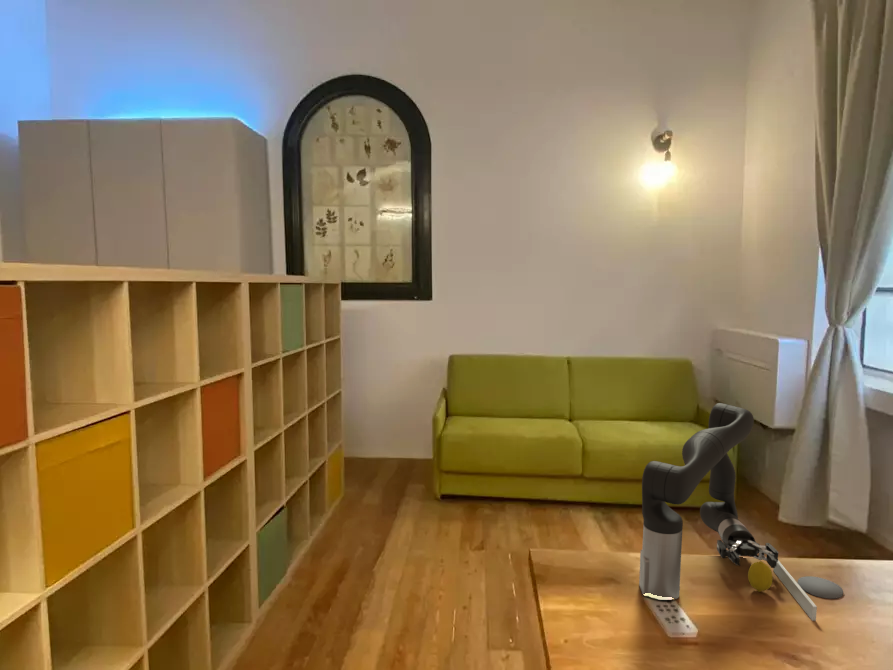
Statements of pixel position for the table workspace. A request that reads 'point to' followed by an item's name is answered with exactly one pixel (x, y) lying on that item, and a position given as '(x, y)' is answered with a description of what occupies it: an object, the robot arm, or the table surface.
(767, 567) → the lemon
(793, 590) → the low wall
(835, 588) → the slate mat
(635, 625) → the table surface
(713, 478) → the robot arm
